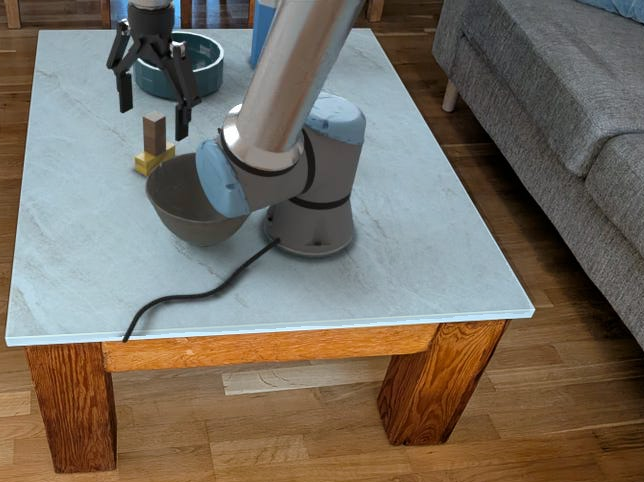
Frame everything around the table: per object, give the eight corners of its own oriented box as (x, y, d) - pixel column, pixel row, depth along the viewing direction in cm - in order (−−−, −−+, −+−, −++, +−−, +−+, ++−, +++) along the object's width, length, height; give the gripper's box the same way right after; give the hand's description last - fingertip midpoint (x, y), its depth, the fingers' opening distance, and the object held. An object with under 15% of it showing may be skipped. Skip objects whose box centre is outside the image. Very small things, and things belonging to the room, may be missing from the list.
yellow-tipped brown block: (146, 176, 125) (144, 127, 118) (135, 170, 127) (132, 121, 119) (175, 159, 130) (175, 110, 122) (163, 153, 131) (163, 104, 123)
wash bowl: (182, 112, 141) (182, 82, 136) (116, 80, 149) (113, 51, 144) (239, 79, 152) (242, 50, 147) (174, 52, 159) (174, 23, 154)
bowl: (174, 190, 123) (173, 141, 115) (271, 217, 119) (277, 168, 111) (127, 251, 111) (123, 200, 104) (233, 283, 107) (237, 233, 99)
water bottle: (287, 75, 154) (302, -47, 135) (247, 69, 155) (256, -52, 136) (292, 56, 160) (307, -62, 141) (253, 52, 161) (263, -67, 142)
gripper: (227, 17, 103) (219, 141, 119) (111, -29, 113) (119, 92, 129) (195, 33, 99) (192, 159, 115) (78, -16, 109) (90, 106, 125)
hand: (153, 124), depth 122 cm, fingers open, 13 cm apart
